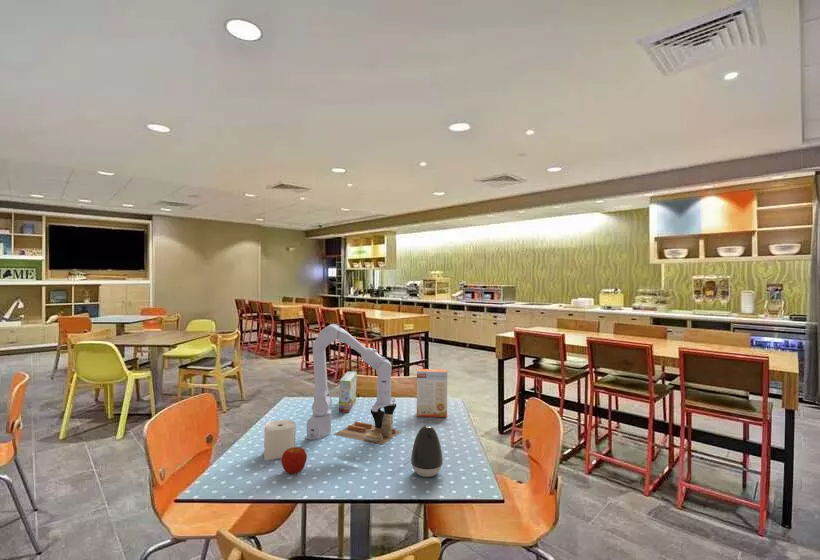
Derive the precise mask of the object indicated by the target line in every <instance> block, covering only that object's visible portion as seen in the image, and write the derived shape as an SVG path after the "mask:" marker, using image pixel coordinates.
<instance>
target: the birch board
mask: <svg viewBox="0 0 820 560" xmlns="http://www.w3.org/2000/svg"><path fill="white" fill-rule="evenodd" d="M393 415H394V414H393ZM393 415H391V414H385V413H384V416H383V420H382V427H381V429H379V428H376V426H375V425H374V426H375V430H379V431H384V432H389V433H390V435H391V434H392V428H393V423H394V422H393V419H394V418H393Z"/></svg>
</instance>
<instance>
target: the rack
mask: <svg viewBox="0 0 820 560" xmlns="http://www.w3.org/2000/svg"><path fill="white" fill-rule="evenodd" d="M369 432H375V433H380V434H382V436H383V439H382V440H381V441H379V442H378V443H377V442H373V441H368V440H364V437H365V434H367V433H369ZM402 432H403V431H402V430H397V429H396V428H394V427H392V434H391V435H390V433H389V432H384V431H379V430H375V425H373V424H372V423H366V422H362V421H354V423H353V424H348V425H347V427H345V428H343V429H341V430H339V431H337V432H335V433H334V434H333V435H335V436H339V437H344V438H348V439H349V438H350V439H353V440H358V441H362V442H367V443H372V444H377V445H382V446H383V445H384V444H385V443H387V442H389V441H391V439H393V438H394V437H396V436H398V435H400V434H401V433H402Z"/></svg>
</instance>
